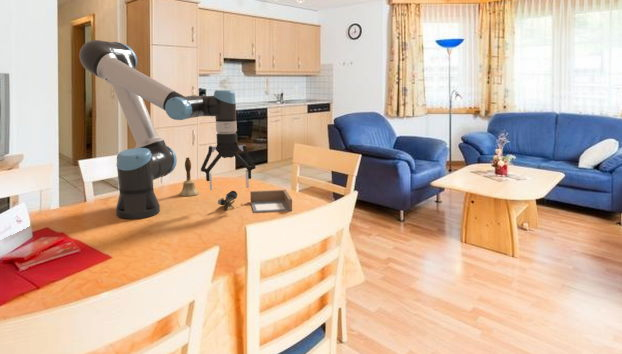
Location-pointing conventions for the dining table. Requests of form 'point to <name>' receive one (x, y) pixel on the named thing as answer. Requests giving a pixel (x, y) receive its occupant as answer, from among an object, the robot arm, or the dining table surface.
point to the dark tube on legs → (228, 200)
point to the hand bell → (188, 182)
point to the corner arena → (271, 201)
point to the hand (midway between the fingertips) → (229, 188)
